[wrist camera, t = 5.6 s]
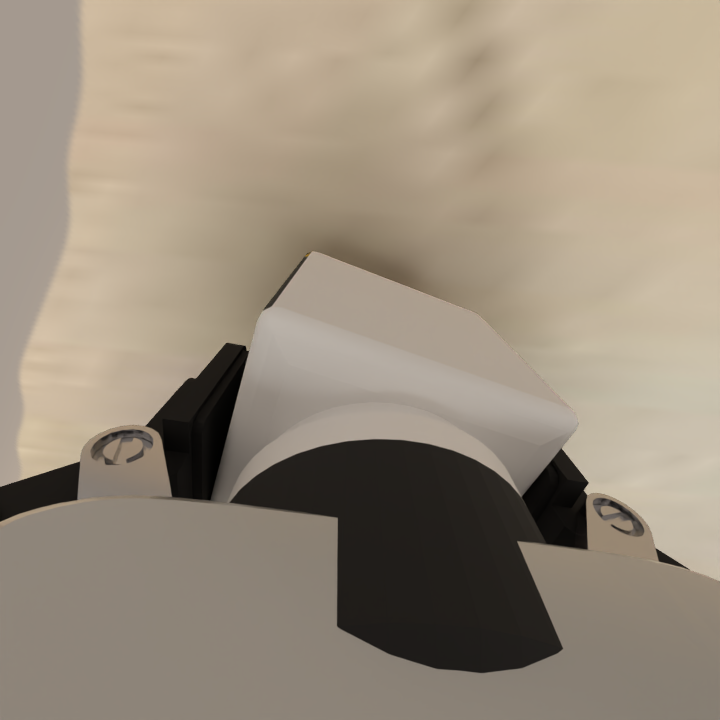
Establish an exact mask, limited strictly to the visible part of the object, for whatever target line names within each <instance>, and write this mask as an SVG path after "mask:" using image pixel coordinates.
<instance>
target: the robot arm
mask: <svg viewBox="0 0 720 720" xmlns="http://www.w3.org/2000/svg"><path fill="white" fill-rule="evenodd" d="M248 354H249V351H246V346H242V345H237V344H231V343H226V344H225V345H224V346H223V348H222V349H221V350H220V351H219V352H218V353H217V355H216V356H215V357H214V358H213V359H212V361H211V362H210V363H209V364H208V365H207V366H206V368H205V369H204V370H203V371H202V372H201V373H200V375H199V376H198V377H197V378H196V379H194V378H189V379H188V380H186V381H185V382H184V383H183V385H182V386H181V387H180V388H179V389H178V390H177V391H176V392H175V394H174V395H173V396H172V397H171V398H170V399H169V400H168V401H167V403H166V404H165V405H164V406H163V407H162V408H161V409H160V410H159V411H158V413H157V414H156V415H155V416H154V417H153V418H152V419H151V420H150V422H149V423H148V424H147V425H146V426H139V425H128V426H120V427H116V428H112V429H109V430H106V431H104V432H102V433H99V434H98V435H96V436H95V437H93V438H92V439H90V440H89V441H88V442H87V443H86V444H85V446H84V447H83V449H82V452H81V458H80V462H77V463H74V464H71V465H68V466H65V467H61V468H58V469H55V470H52V471H49V472H46V473H43V474H39V475H36V476H33V477H30V478H27V479H24V480H21V481H17V482H14V483H11V484H9V485H5V486H2V487H0V720H720V581H717V580H715V579H713V578H710V577H708V576H706V575H703V574H700V573H697V572H694V571H691V570H689V569H688V568H686V567H685V566H683V565H682V564H680V563H678V562H677V561H675V560H674V559H672V558H670V557H669V556H667V555H666V554H664V553H662V552H661V551H659V550H658V549H656V548H655V545H654V541H653V537H652V533H651V531H650V529H649V526H648V525H647V524H646V522H645V521H644V520H643V519H642V517H640V516H639V515H638V514H637V513H636V512H635V511H634V510H633V509H631V508H630V507H628V506H627V505H626V504H624V503H622V502H621V501H619V500H617V499H615V498H613V497H610V496H608V495H604V494H600V493H591V494H590V495H588V496H587V495H586V493H585V492H584V491H583V490H584V489H585V487H586V486H587V485H588V481H587V480H586V479H585V477H584V476H583V475H582V474H581V472H580V471H579V470H578V469H577V467H576V466H575V465H574V464H573V462H572V461H571V460H570V459H569V457H568V456H567V455H566V453H565V452H564V451H563V450H562V448H561V449H560V450H559V452H558V453H557V454H556V455H555V456H554V458H553V459H552V460H551V461H550V463H549V464H548V465H547V466H546V467H545V469H544V470H543V471H542V472H541V474H540V475H539V476H538V477H537V479H536V480H535V481H534V482H533V483H532V485H531V486H530V487H529V488H528V490H527V491H526V492H525V493H524V494H523V496H522V499H523V501H524V503H525V504H526V506H527V508H528V510H529V512H530V514H531V516H532V517H533V519H534V521H535V523H536V525H537V527H538V529H539V531H540V532H541V534H542V536H543V538H544V540H545V542H546V544H543V543H536V542H521V541H517V542H518V545H519V547H520V549H521V551H522V554H523V556H524V558H525V561H526V563H527V565H528V568H529V570H530V572H531V575H532V577H533V579H534V582H535V584H536V586H537V589H538V591H539V593H540V596H541V598H542V600H543V602H544V605H545V607H546V609H547V612H548V614H549V616H550V619H551V621H552V623H553V626H554V628H555V631H556V633H557V635H558V638H559V640H560V642H561V645H562V647H563V650H561V651H560V652H559V653H558V654H555V655H553V656H550V657H548V658H546V659H543V660H541V661H538V662H536V663H534V664H531V665H529V666H526V667H524V668H521V669H513V670H505V671H496V672H488V673H474V672H466V671H457V670H443V669H435V668H432V667H428V666H425V665H422V664H419V663H415V662H412V661H409V660H406V659H402V658H399V657H396V656H393V655H390V654H388V653H386V652H384V651H382V650H380V649H378V648H376V647H374V646H372V645H370V644H368V643H366V642H364V641H362V640H361V639H359V638H357V637H355V636H353V635H351V634H349V633H347V632H345V631H343V630H341V629H340V628H338V627H337V544H338V518H336V517H330V516H324V515H318V514H311V513H305V512H298V511H290V510H283V509H275V508H267V507H259V506H251V505H242V504H234V503H226V502H218V501H210V500H211V495H212V492H213V488H214V484H215V480H216V476H217V472H218V469H219V465H220V461H221V457H222V453H223V450H224V446H225V442H226V438H227V434H228V430H229V427H230V423H231V419H232V415H233V411H234V408H235V404H236V400H237V396H238V392H239V388H240V385H241V381H242V377H243V373H244V369H245V365H246V362H247V358H248Z"/></svg>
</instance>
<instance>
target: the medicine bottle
mask: <svg viewBox="0 0 720 720" xmlns="http://www.w3.org/2000/svg"><path fill="white" fill-rule="evenodd" d="M577 426H578V419H577V416H576V414H575V412H574V411H573V410H572V409H571V408H570V407H569V406H568V405H567V404H566V403H565V402H564V401H563V400H562V399H561V398H560V397H559V396H558V395H557V394H556V393H555V392H554V391H553V390H552V389H551V388H550V387H549V385H548V384H547V383H546V382H545V381H544V380H543V379H542V378H541V377H540V376H539V375H538V374H537V373H536V372H535V371H534V370H533V369H532V368H531V367H530V366H529V365H528V364H527V363H526V362H525V361H524V360H523V359H522V358H521V357H520V356H519V355H518V354H517V353H516V352H515V351H514V350H513V349H512V348H511V347H510V346H509V345H508V344H507V343H506V342H505V341H504V340H503V339H502V338H501V337H500V336H499V335H498V334H497V333H496V332H495V331H494V329H493V328H492V327H491V326H490V325H489V324H488V323H487V322H486V321H485V320H484V319H483V318H482V317H481V316H480V315H478V314H477V313H475V312H473V311H470V310H467V309H465V308H462V307H460V306H457V305H454V304H452V303H449V302H447V301H444V300H441V299H439V298H436V297H434V296H431V295H428V294H426V293H423V292H421V291H418V290H415V289H413V288H410V287H408V286H405V285H402V284H400V283H397V282H395V281H392V280H389V279H387V278H384V277H382V276H379V275H376V274H374V273H371V272H369V271H366V270H363V269H361V268H358V267H356V266H353V265H350V264H348V263H345V262H342V261H340V260H337V259H335V258H332V257H329V256H327V255H324V254H322V253H319V252H314V251H311V252H309V253H307V254H306V256H305V257H304V258H303V259H302V261H301V262H300V263H299V265H298V266H297V267H296V268H295V270H294V271H293V272H292V274H291V275H290V276H289V277H288V279H287V280H286V281H285V283H284V284H283V285H282V286H281V288H280V289H279V290H278V292H277V293H276V294H275V295H274V297H273V298H272V299H271V301H270V302H269V303H268V304H267V306H266V307H265V308H264V310H263V311H262V313H261V314H260V316H259V317H258V320H257V323H256V327H255V331H254V335H253V339H252V343H251V346H250V350H249V354H248V358H247V362H246V365H245V369H244V373H243V377H242V381H241V385H240V388H239V392H238V396H237V400H236V404H235V408H234V411H233V415H232V419H231V423H230V427H229V430H228V434H227V438H226V442H225V446H224V450H223V453H222V457H221V461H220V465H219V469H218V472H217V476H216V480H215V484H214V488H213V492H212V495H211V500H210V501H218V502H226V503H234V504H242V505H251V506H259V507H267V508H275V509H283V510H290V511H298V512H305V513H311V514H318V515H324V516H330V517H336V518H338V544H337V627H338V628H340V629H341V630H343V631H345V632H347V633H349V634H351V635H353V636H355V637H357V638H359V639H361V640H362V641H364V642H366V643H368V644H370V645H372V646H374V647H376V648H378V649H380V650H382V651H384V652H386V653H388V654H390V655H393V656H396V657H399V658H402V659H406V660H409V661H412V662H415V663H419V664H422V665H425V666H428V667H432V668H435V669H443V670H457V671H466V672H474V673H488V672H496V671H505V670H513V669H521V668H524V667H526V666H529V665H531V664H534V663H536V662H538V661H541V660H543V659H546V658H548V657H550V656H553V655H555V654H558V653H559V652H560V651H561V650H563V647H562V645H561V642H560V640H559V638H558V635H557V633H556V631H555V628H554V626H553V623H552V621H551V619H550V616H549V614H548V612H547V609H546V607H545V605H544V602H543V600H542V598H541V596H540V593H539V591H538V589H537V586H536V584H535V582H534V579H533V577H532V575H531V572H530V570H529V568H528V565H527V563H526V561H525V558H524V556H523V554H522V551H521V549H520V547H519V545H518V542H517V541H521V542H536V543H543V544H546V542H545V540H544V538H543V536H542V534H541V532H540V531H539V529H538V527H537V525H536V523H535V521H534V519H533V517H532V516H531V514H530V512H529V510H528V508H527V506H526V504H525V503H524V501H523V499H522V496H523V494H524V493H525V492H526V491H527V490H528V488H529V487H530V486H531V485H532V483H533V482H534V481H535V480H536V479H537V477H538V476H539V475H540V474H541V472H542V471H543V470H544V469H545V467H546V466H547V465H548V464H549V463H550V461H551V460H552V459H553V458H554V456H555V455H556V454H557V453H558V452H559V450H560V449H561V448H562V447H563V445H564V444H565V443H566V442H567V441H568V439H569V438H570V437H571V436H572V434H573V433H574V432H575V431H576V429H577Z"/></svg>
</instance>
